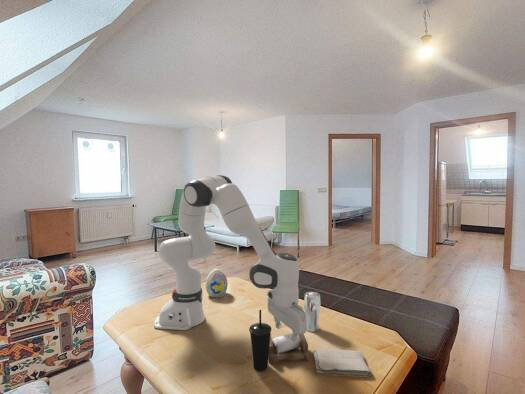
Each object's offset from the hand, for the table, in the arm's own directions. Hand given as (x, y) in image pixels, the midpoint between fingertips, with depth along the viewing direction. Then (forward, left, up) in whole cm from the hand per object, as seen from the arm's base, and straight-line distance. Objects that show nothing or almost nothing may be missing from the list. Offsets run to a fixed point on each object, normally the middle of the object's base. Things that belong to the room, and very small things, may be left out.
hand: (285, 333), depth 103 cm
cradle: (0, -1, -7) cm, 7 cm away
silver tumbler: (+14, +16, -8) cm, 23 cm away
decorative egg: (-31, +56, -8) cm, 65 cm away
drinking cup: (-10, -7, -8) cm, 14 cm away
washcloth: (+18, -8, -8) cm, 21 cm away
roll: (0, -1, -3) cm, 3 cm away
